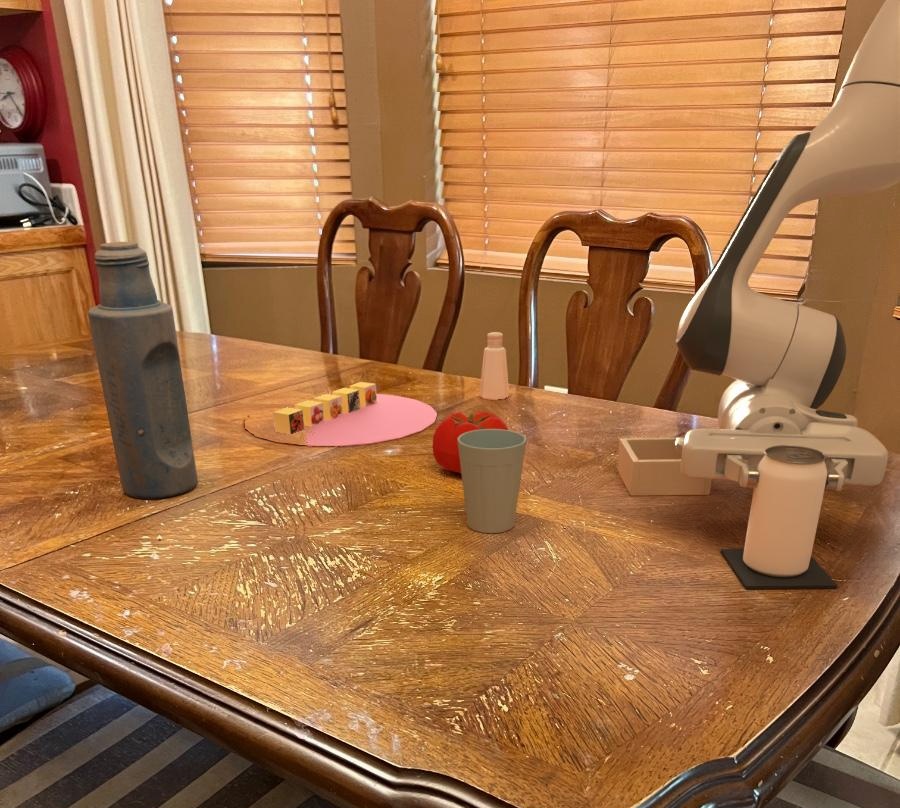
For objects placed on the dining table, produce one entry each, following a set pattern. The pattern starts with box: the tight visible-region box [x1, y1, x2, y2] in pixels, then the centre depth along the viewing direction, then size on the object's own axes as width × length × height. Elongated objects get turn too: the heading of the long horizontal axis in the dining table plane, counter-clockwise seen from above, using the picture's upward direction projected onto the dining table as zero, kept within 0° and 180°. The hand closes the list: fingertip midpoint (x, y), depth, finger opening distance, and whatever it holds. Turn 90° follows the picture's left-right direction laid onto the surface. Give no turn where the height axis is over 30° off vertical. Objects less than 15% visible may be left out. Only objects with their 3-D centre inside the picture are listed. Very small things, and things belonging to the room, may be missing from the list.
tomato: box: [432, 410, 509, 475], centre depth 117 cm, size 11×11×8 cm
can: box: [743, 445, 827, 578], centre depth 86 cm, size 6×6×12 cm
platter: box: [273, 381, 438, 448], centre depth 142 cm, size 32×32×3 cm
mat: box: [720, 548, 838, 590], centre depth 89 cm, size 9×9×1 cm
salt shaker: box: [478, 331, 510, 401], centre depth 151 cm, size 5×5×11 cm
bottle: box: [87, 241, 199, 500], centre depth 107 cm, size 10×10×30 cm
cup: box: [458, 429, 527, 534], centre depth 98 cm, size 8×8×10 cm
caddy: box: [616, 437, 713, 497], centre depth 112 cm, size 10×10×4 cm
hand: (792, 482), depth 84 cm, fingers closed on can, 6 cm apart
